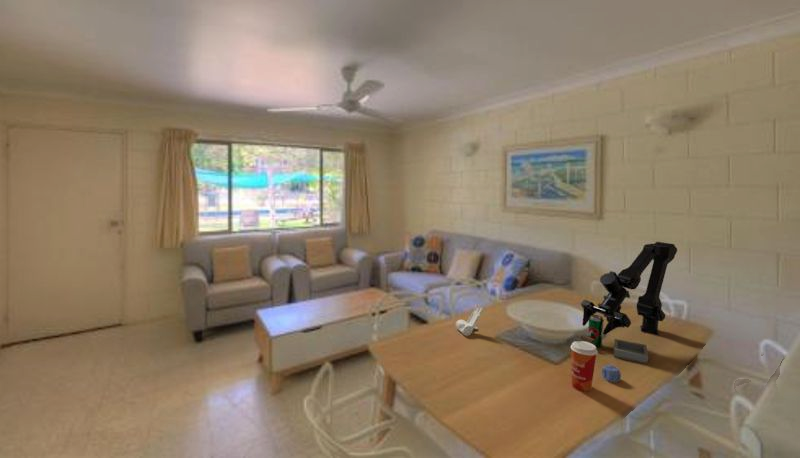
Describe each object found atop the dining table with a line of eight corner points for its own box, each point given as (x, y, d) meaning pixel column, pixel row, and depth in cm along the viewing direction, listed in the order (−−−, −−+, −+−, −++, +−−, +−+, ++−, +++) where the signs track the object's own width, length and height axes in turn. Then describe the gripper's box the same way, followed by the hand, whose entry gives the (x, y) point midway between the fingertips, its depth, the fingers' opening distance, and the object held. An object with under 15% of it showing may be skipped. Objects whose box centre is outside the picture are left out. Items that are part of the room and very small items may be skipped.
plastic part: (455, 329, 159) (455, 304, 157) (475, 326, 162) (475, 301, 160) (463, 336, 152) (463, 310, 150) (483, 333, 155) (484, 307, 153)
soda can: (603, 348, 140) (605, 319, 139) (589, 347, 141) (591, 318, 140) (599, 342, 145) (601, 314, 143) (585, 341, 146) (587, 313, 144)
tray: (614, 345, 142) (614, 338, 142) (645, 352, 137) (646, 344, 137) (613, 356, 134) (614, 349, 133) (647, 364, 128) (648, 356, 128)
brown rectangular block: (583, 343, 144) (584, 334, 144) (594, 349, 140) (595, 339, 139) (580, 344, 143) (580, 335, 143) (591, 350, 139) (591, 340, 138)
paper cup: (563, 380, 118) (565, 340, 116) (585, 379, 119) (588, 339, 117) (576, 394, 110) (579, 351, 108) (600, 393, 111) (603, 350, 109)
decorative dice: (601, 376, 121) (602, 365, 120) (612, 375, 121) (613, 364, 120) (608, 382, 117) (609, 371, 116) (620, 382, 117) (621, 370, 116)
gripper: (645, 318, 139) (624, 350, 136) (602, 303, 156) (582, 331, 153) (634, 301, 135) (611, 334, 132) (590, 288, 152) (570, 316, 149)
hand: (593, 329), depth 142 cm, fingers open, 9 cm apart
